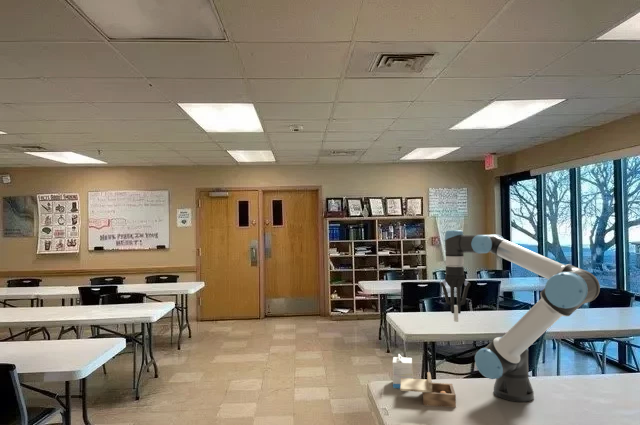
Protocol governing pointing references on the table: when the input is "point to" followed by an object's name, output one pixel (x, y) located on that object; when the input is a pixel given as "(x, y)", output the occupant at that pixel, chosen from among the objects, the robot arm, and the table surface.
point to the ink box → (401, 370)
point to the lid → (417, 384)
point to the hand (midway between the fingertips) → (456, 320)
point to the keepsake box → (440, 395)
